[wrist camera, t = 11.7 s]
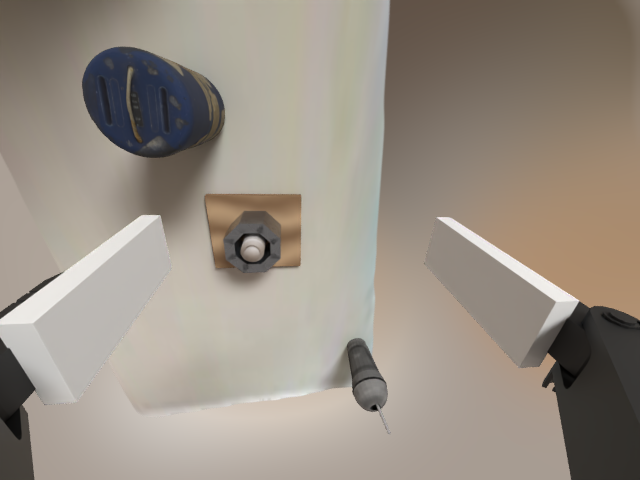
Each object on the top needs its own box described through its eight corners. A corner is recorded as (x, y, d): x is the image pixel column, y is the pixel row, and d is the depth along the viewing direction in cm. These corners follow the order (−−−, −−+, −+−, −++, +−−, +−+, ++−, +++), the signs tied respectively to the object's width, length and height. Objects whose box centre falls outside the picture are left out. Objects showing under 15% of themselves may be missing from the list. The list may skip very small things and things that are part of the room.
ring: (228, 210, 45) (221, 224, 40) (280, 210, 46) (279, 223, 41) (233, 255, 49) (227, 273, 44) (281, 254, 50) (281, 271, 45)
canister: (234, 90, 39) (199, 73, 23) (218, 152, 42) (177, 176, 26) (165, 57, 36) (68, 13, 20) (153, 126, 39) (63, 136, 23)
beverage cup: (346, 332, 63) (370, 420, 45) (374, 335, 64) (408, 421, 46) (338, 354, 66) (358, 445, 48) (365, 356, 67) (395, 444, 49)
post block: (206, 193, 45) (188, 212, 36) (300, 194, 47) (304, 212, 38) (217, 264, 51) (204, 294, 42) (300, 262, 53) (302, 290, 44)
